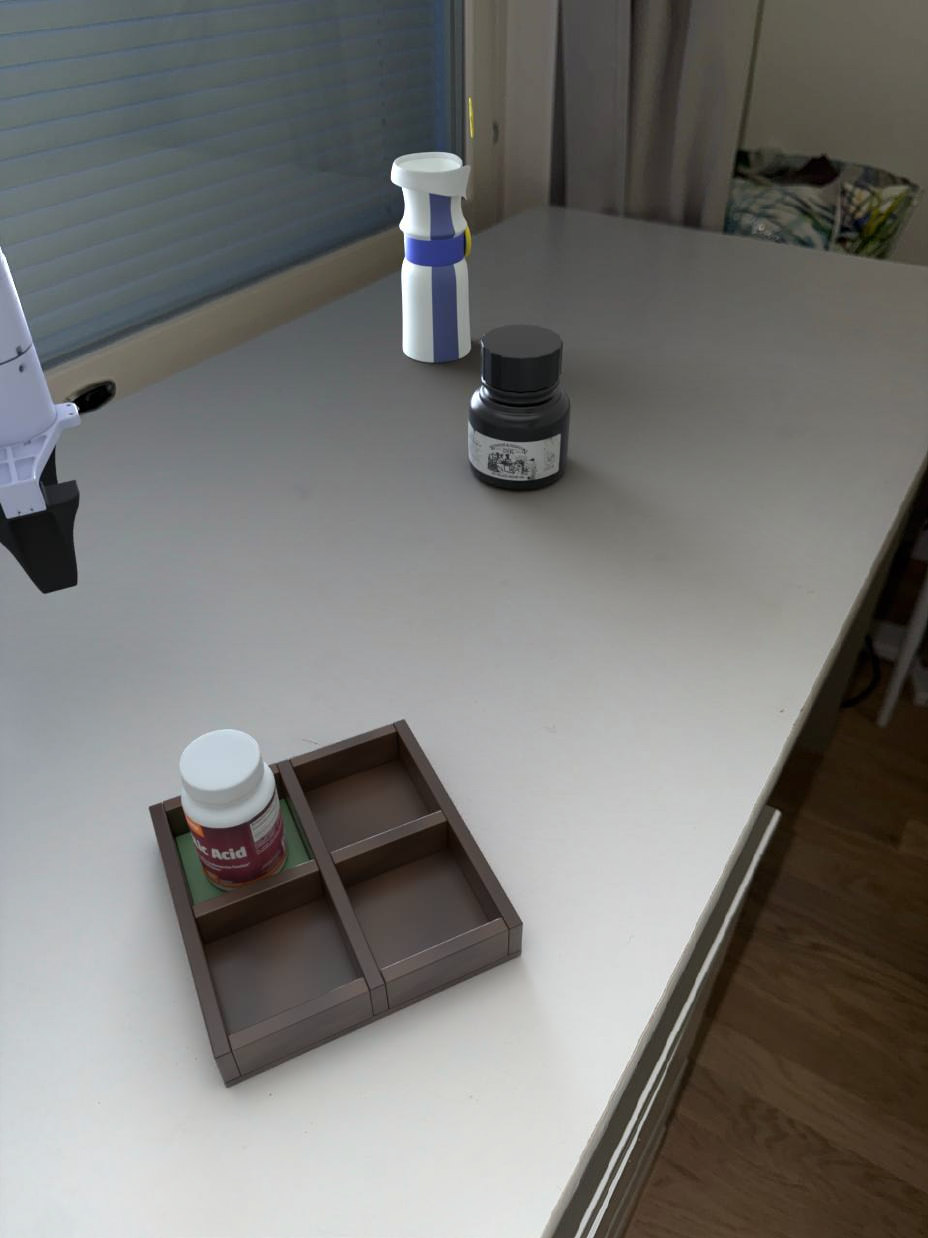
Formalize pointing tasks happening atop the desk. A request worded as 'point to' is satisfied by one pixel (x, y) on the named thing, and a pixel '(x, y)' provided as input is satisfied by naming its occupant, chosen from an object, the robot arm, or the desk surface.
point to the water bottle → (434, 255)
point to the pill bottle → (232, 809)
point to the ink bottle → (519, 409)
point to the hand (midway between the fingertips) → (52, 553)
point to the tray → (338, 905)
